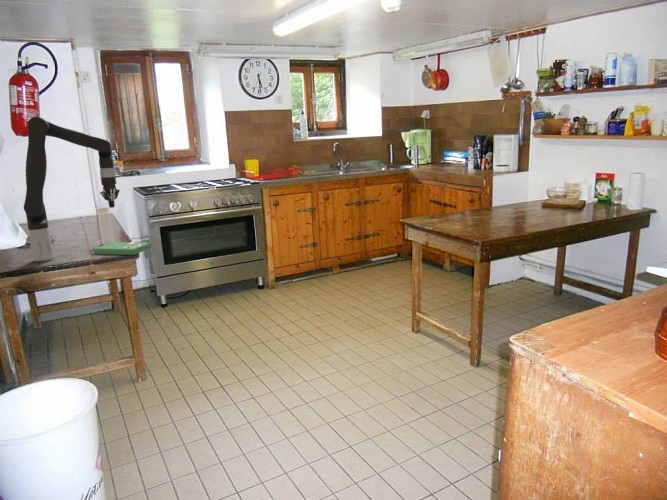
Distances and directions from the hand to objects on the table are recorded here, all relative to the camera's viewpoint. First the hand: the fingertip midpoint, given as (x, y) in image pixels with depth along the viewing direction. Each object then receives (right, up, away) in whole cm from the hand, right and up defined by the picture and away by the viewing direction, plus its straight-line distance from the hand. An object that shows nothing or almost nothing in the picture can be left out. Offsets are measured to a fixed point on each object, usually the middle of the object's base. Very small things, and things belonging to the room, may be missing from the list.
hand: (112, 207), depth 276 cm
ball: (+11, -22, 0) cm, 25 cm away
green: (+5, -24, +3) cm, 25 cm away
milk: (-13, -20, +24) cm, 34 cm away
